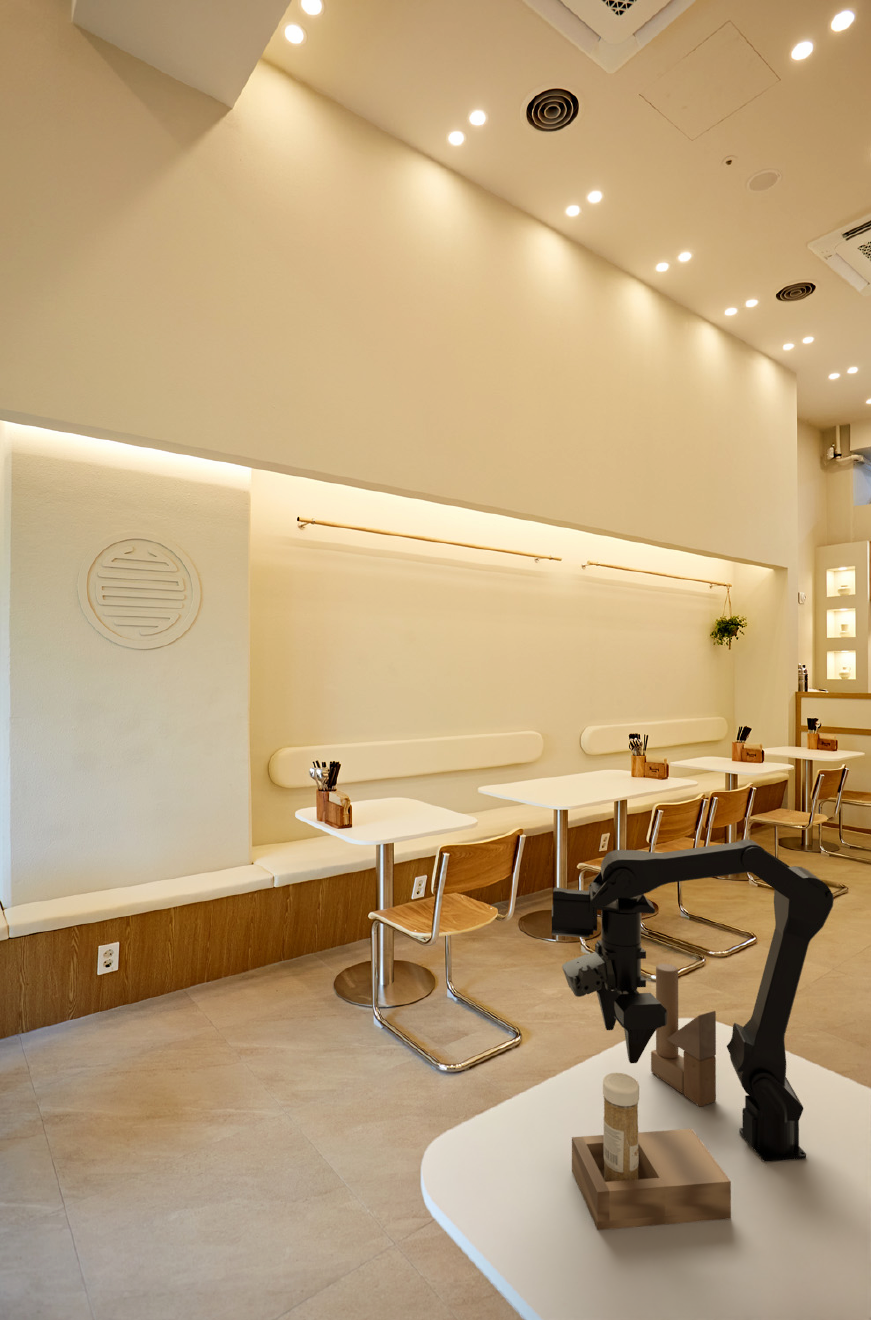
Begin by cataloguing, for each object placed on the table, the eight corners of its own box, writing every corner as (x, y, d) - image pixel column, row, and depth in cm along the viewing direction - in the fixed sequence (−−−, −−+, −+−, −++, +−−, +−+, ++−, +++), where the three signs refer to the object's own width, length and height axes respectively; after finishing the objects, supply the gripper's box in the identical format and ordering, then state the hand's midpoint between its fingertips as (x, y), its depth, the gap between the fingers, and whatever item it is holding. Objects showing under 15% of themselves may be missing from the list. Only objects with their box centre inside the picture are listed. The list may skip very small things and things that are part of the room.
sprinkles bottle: (646, 1197, 87) (646, 1089, 88) (613, 1203, 86) (613, 1093, 86) (627, 1171, 92) (627, 1069, 92) (596, 1177, 91) (596, 1073, 91)
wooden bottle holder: (691, 1162, 95) (691, 1128, 95) (730, 1218, 85) (730, 1181, 85) (571, 1171, 93) (571, 1137, 93) (597, 1230, 83) (597, 1192, 83)
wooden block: (700, 1108, 107) (699, 990, 108) (650, 1072, 117) (650, 964, 117) (717, 1102, 109) (716, 986, 109) (666, 1067, 118) (666, 961, 119)
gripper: (550, 919, 111) (550, 1017, 111) (589, 967, 93) (589, 1085, 92) (617, 917, 113) (617, 1014, 112) (668, 964, 94) (668, 1081, 94)
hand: (620, 1045), depth 103 cm, fingers open, 9 cm apart
